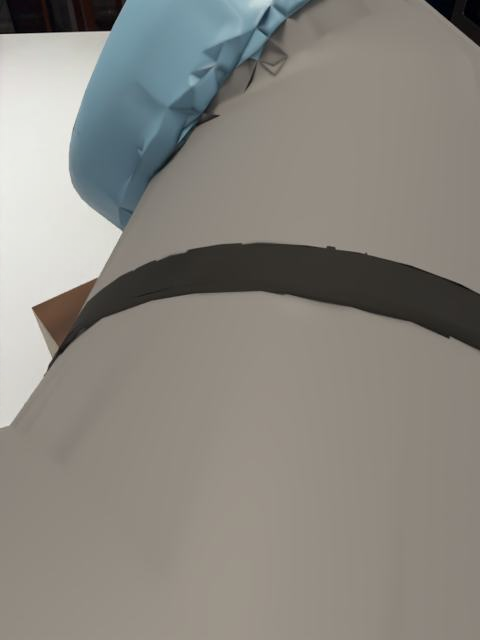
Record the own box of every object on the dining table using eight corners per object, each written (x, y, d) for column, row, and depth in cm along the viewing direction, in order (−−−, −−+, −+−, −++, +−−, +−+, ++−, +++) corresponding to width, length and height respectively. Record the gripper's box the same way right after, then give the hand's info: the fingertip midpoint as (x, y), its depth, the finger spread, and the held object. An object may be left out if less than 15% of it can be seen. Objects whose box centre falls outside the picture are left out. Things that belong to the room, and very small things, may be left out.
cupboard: (213, 373, 67) (210, 296, 57) (100, 441, 60) (72, 367, 50) (171, 327, 72) (161, 248, 62) (63, 384, 66) (31, 307, 55)
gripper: (225, 676, 18) (117, 563, 37) (575, 341, 29) (355, 386, 48) (117, 489, 18) (64, 472, 37) (507, 225, 29) (314, 315, 48)
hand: (228, 423), depth 43 cm, fingers open, 13 cm apart
